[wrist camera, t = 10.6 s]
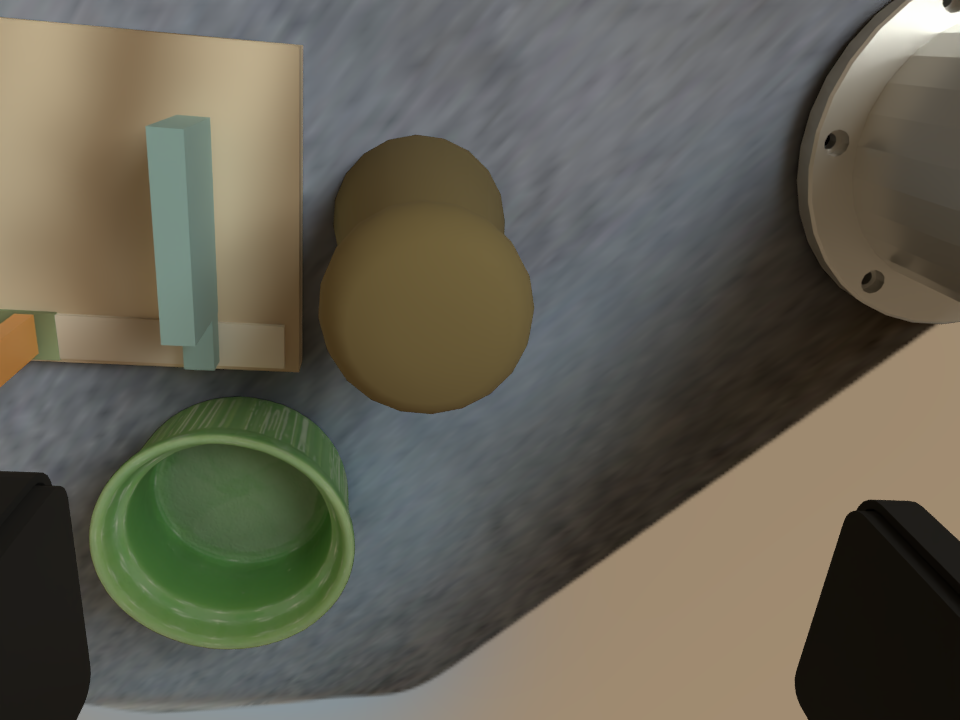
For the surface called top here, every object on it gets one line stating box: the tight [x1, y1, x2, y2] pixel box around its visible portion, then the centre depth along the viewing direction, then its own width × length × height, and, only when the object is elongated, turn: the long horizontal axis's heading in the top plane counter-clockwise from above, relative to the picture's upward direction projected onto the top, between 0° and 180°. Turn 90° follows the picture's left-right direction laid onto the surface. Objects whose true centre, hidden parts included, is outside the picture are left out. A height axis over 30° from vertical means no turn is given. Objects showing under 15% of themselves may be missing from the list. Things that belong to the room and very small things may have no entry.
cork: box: [318, 135, 534, 414], centre depth 22 cm, size 6×6×11 cm
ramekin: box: [89, 397, 355, 649], centre depth 29 cm, size 9×9×4 cm
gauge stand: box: [0, 17, 303, 372], centre depth 24 cm, size 12×11×6 cm
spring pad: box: [145, 115, 220, 371], centre depth 24 cm, size 1×8×3 cm, turn 175°
